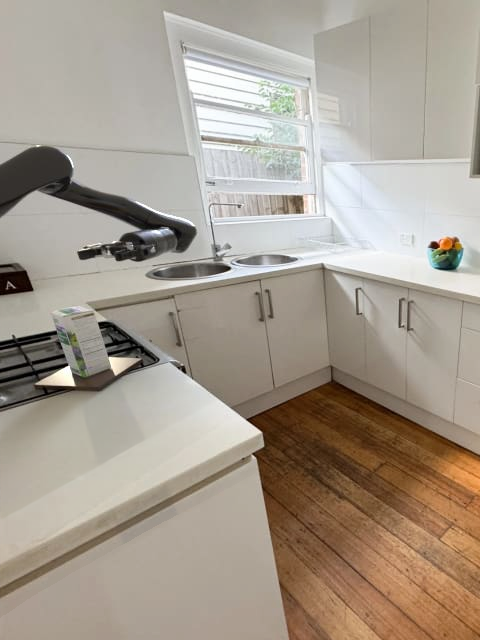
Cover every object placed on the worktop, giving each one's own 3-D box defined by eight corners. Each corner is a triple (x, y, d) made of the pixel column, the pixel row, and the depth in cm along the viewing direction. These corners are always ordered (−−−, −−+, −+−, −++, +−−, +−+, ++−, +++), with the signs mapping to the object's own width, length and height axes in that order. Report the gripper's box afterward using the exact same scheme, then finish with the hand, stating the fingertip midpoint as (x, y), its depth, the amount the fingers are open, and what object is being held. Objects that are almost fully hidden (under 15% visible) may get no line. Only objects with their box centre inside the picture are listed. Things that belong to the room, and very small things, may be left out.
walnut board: (34, 388, 81) (33, 384, 81) (87, 359, 94) (86, 356, 94) (99, 391, 81) (98, 387, 81) (143, 361, 94) (142, 358, 94)
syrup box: (70, 372, 86) (47, 312, 80) (99, 362, 91) (79, 304, 85) (84, 378, 84) (62, 316, 78) (113, 367, 89) (94, 308, 83)
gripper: (114, 229, 101) (61, 238, 86) (167, 231, 101) (124, 240, 86) (122, 257, 104) (72, 271, 89) (174, 259, 104) (132, 273, 89)
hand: (98, 256), depth 88 cm, fingers open, 8 cm apart
